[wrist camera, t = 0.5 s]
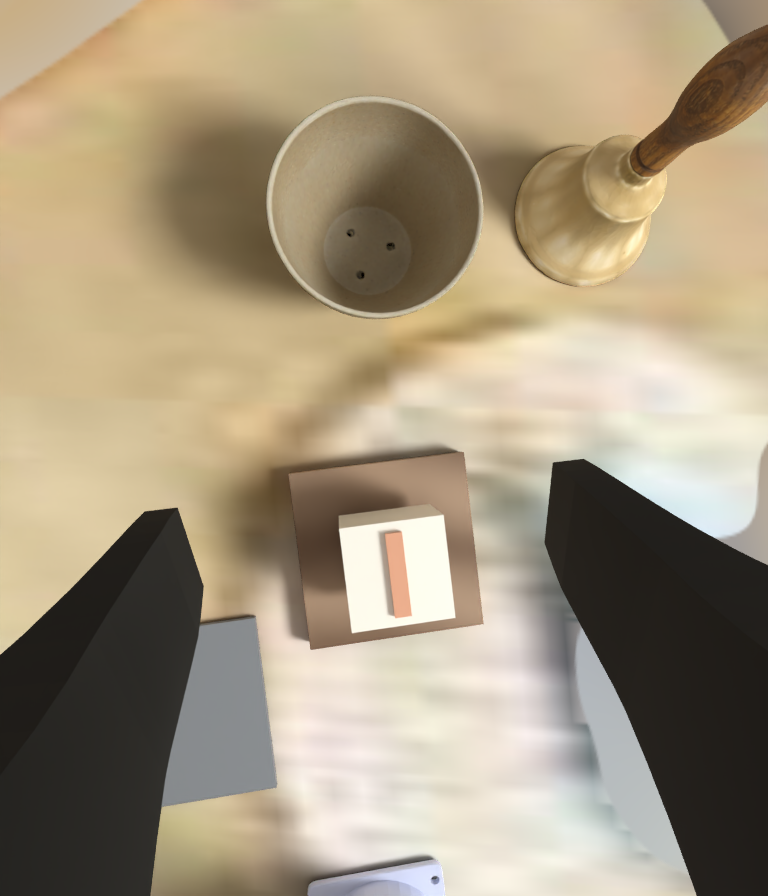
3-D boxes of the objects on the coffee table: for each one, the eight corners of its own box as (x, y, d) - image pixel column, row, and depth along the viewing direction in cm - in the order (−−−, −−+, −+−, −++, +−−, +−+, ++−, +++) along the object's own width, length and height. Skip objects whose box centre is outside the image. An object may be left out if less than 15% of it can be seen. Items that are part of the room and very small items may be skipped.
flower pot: (273, 332, 33) (256, 304, 26) (288, 156, 33) (275, 80, 26) (445, 349, 34) (474, 327, 27) (460, 178, 34) (493, 110, 26)
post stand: (478, 617, 34) (508, 656, 28) (311, 642, 34) (306, 687, 28) (459, 451, 34) (485, 455, 28) (290, 472, 33) (280, 481, 27)
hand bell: (563, 118, 34) (761, -156, 18) (673, 200, 35) (958, 5, 19) (487, 234, 34) (621, 60, 18) (600, 314, 35) (824, 214, 19)
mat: (277, 783, 34) (276, 787, 33) (101, 812, 33) (98, 817, 32) (255, 615, 33) (254, 618, 33) (77, 641, 32) (74, 643, 32)
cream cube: (439, 593, 32) (456, 619, 27) (349, 606, 31) (352, 635, 27) (429, 503, 32) (444, 515, 27) (338, 515, 31) (339, 529, 27)
